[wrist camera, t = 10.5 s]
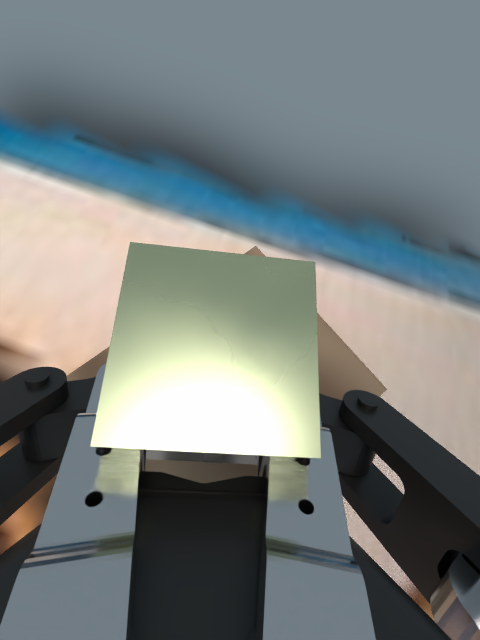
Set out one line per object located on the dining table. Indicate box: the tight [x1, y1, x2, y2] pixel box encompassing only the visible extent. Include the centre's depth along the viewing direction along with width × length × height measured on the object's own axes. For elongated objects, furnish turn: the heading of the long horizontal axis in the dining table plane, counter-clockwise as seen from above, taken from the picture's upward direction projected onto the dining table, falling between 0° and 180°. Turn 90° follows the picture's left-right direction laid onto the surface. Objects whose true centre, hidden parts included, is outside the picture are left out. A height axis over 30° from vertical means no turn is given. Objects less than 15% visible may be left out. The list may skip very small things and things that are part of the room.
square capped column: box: [90, 242, 321, 465], centre depth 12 cm, size 6×6×13 cm
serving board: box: [66, 246, 386, 483], centre depth 23 cm, size 20×15×2 cm
